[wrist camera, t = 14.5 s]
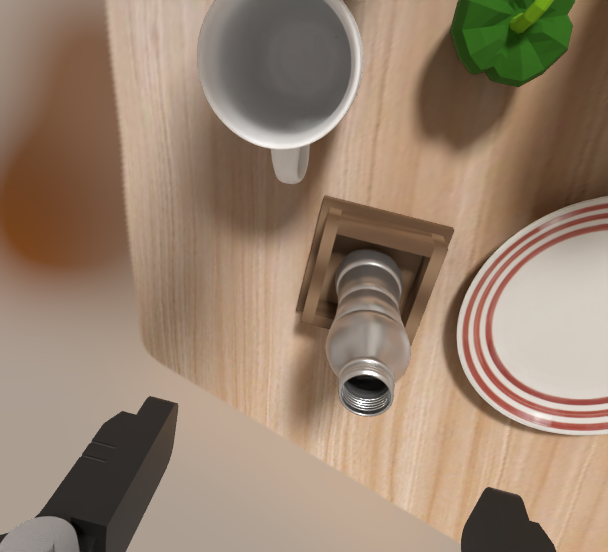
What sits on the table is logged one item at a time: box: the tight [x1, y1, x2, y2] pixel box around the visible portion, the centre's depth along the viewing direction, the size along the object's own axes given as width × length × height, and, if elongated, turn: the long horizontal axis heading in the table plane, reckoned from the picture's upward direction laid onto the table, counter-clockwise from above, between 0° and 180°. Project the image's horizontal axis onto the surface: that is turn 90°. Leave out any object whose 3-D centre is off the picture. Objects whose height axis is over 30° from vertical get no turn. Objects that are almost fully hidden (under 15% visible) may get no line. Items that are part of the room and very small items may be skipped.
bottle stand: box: [296, 195, 454, 347], centre depth 50 cm, size 13×13×4 cm
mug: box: [197, 0, 364, 184], centre depth 39 cm, size 15×11×13 cm
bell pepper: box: [450, 0, 575, 87], centre depth 36 cm, size 8×8×10 cm
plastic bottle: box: [325, 248, 411, 416], centre depth 42 cm, size 6×7×20 cm
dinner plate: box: [456, 196, 608, 435], centre depth 49 cm, size 28×27×3 cm
